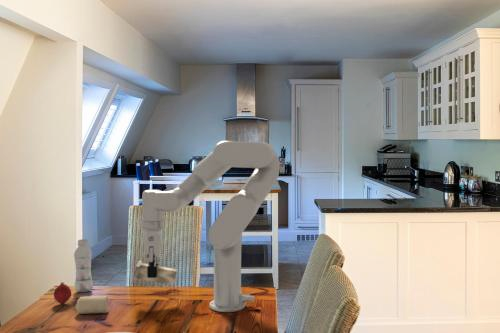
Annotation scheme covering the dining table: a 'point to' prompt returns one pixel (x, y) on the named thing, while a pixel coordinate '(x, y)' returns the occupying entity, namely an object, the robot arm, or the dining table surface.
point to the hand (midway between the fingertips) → (152, 275)
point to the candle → (92, 304)
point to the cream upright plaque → (163, 274)
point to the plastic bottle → (83, 267)
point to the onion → (62, 293)
